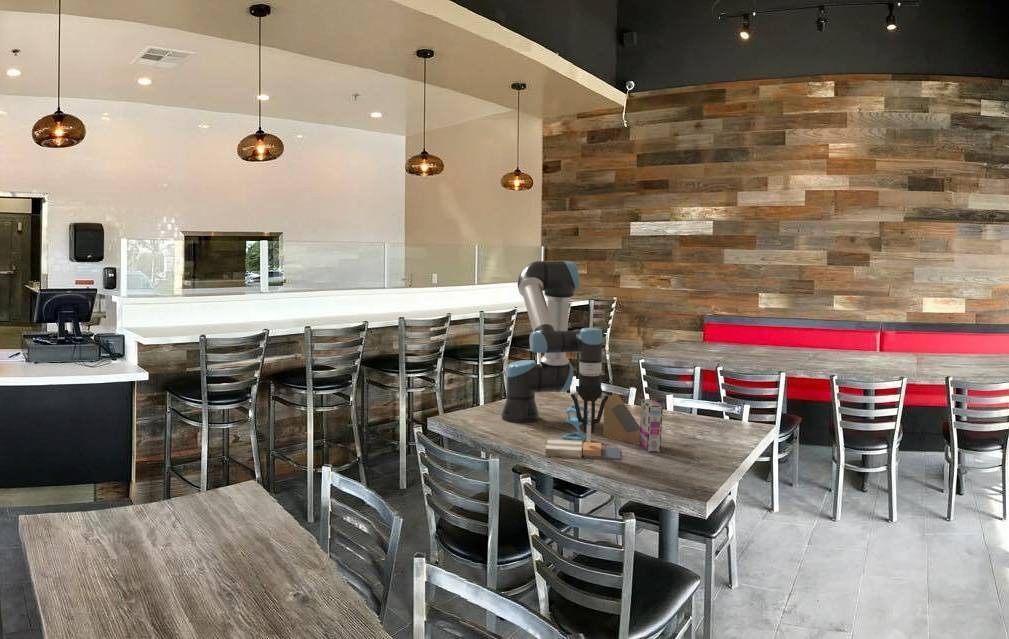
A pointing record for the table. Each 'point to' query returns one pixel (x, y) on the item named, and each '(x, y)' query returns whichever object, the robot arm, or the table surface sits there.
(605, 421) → the sandwich container
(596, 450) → the orange flat block
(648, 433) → the candy bar box
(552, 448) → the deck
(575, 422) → the chair
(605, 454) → the mat
